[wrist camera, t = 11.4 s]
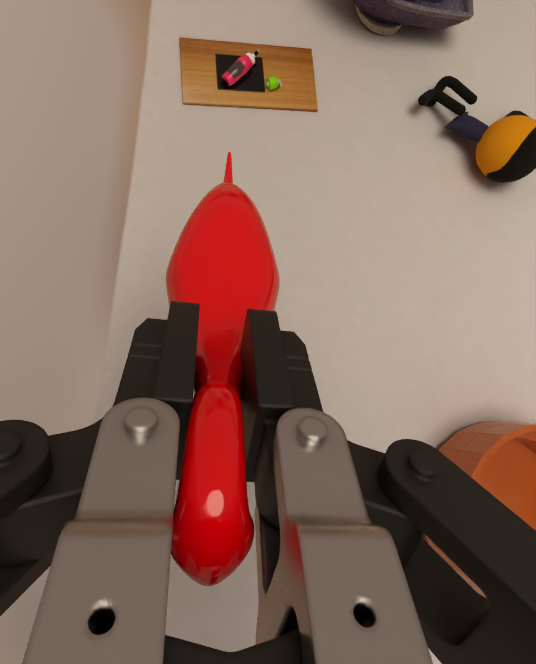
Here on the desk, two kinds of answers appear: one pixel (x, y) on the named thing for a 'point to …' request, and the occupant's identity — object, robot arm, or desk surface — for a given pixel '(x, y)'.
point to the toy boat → (412, 13)
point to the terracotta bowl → (497, 468)
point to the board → (247, 75)
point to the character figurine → (490, 134)
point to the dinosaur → (218, 376)
